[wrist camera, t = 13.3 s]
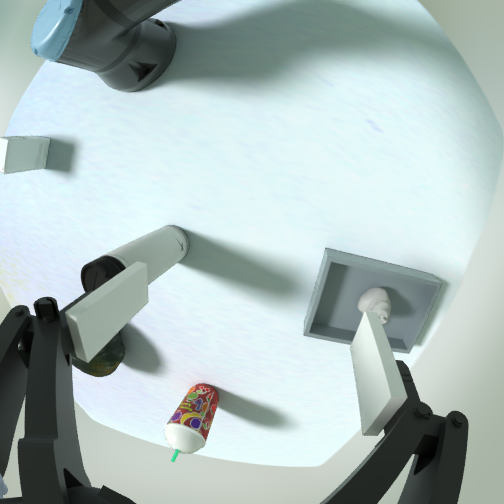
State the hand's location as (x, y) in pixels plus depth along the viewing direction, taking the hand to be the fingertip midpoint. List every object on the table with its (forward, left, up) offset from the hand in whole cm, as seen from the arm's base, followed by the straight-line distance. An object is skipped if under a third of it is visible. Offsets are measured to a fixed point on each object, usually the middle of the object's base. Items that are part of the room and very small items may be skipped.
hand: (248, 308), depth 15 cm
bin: (+9, +17, -27) cm, 33 cm away
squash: (+33, -34, -27) cm, 55 cm away
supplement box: (-7, -57, -27) cm, 64 cm away
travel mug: (+7, -17, -27) cm, 33 cm away
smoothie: (+40, -8, -27) cm, 49 cm away
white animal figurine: (+9, +17, -26) cm, 32 cm away
